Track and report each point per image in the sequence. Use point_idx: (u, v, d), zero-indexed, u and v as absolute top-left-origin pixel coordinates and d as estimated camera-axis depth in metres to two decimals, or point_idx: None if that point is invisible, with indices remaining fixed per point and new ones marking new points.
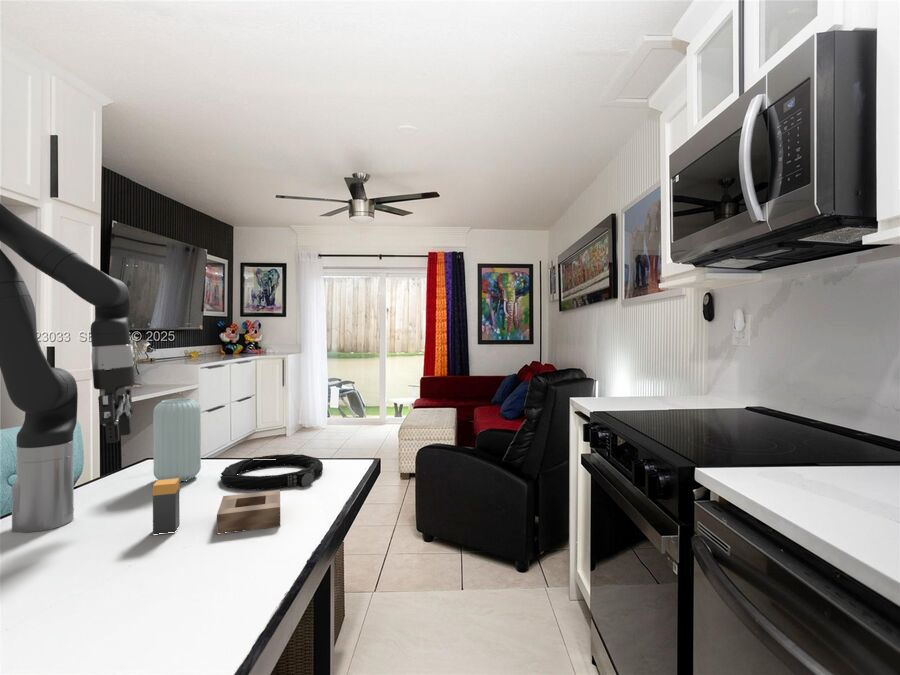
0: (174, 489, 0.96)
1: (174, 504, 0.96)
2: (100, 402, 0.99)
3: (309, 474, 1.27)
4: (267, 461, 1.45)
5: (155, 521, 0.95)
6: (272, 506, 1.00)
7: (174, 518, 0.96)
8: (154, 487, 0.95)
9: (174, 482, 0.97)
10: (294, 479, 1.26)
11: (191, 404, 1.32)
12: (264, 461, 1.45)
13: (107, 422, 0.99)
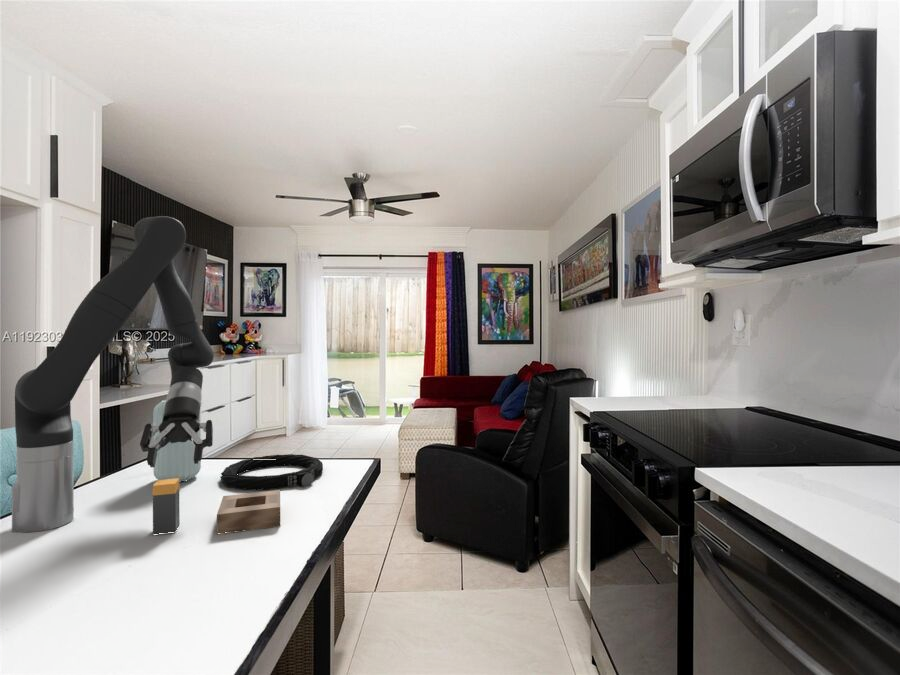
0: (174, 489, 0.96)
1: (174, 504, 0.96)
2: (211, 425, 1.13)
3: (309, 474, 1.27)
4: (267, 461, 1.45)
5: (155, 521, 0.95)
6: (272, 506, 1.00)
7: (174, 518, 0.96)
8: (154, 487, 0.95)
9: (174, 482, 0.97)
10: (294, 479, 1.26)
11: None
12: (264, 461, 1.45)
13: (211, 442, 1.10)
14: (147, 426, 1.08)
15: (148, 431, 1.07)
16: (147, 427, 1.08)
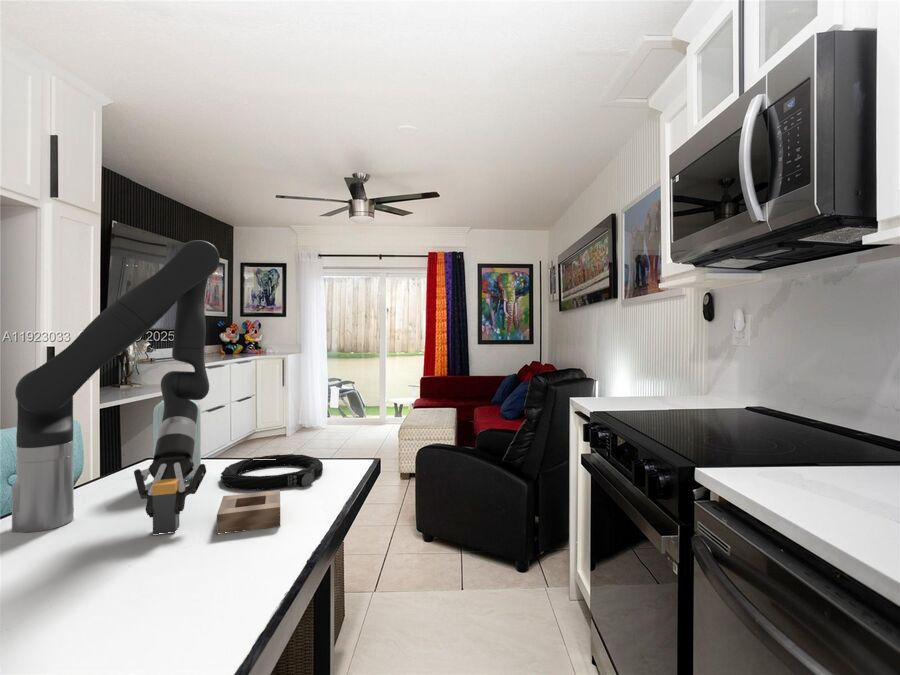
0: (174, 489, 0.96)
1: (174, 504, 0.96)
2: (203, 470, 1.03)
3: (309, 474, 1.27)
4: (267, 461, 1.45)
5: (155, 521, 0.95)
6: (272, 506, 1.00)
7: (174, 518, 0.96)
8: (154, 487, 0.95)
9: (174, 482, 0.97)
10: (294, 479, 1.26)
11: None
12: (264, 461, 1.45)
13: (194, 489, 1.01)
14: (136, 472, 0.99)
15: (140, 477, 0.99)
16: (137, 473, 0.99)
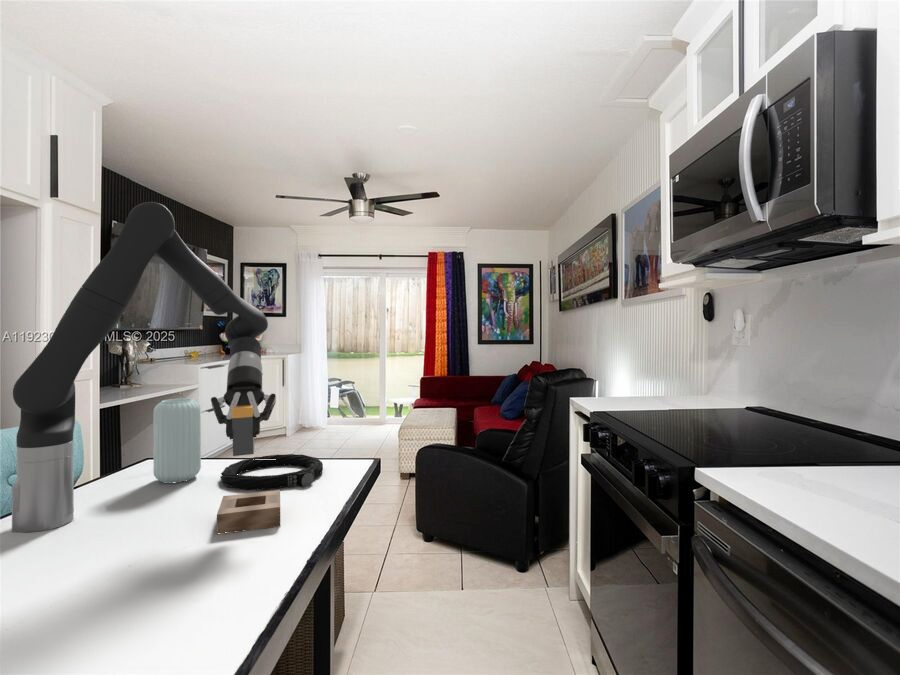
0: (251, 413, 1.02)
1: (251, 427, 1.02)
2: (274, 399, 1.08)
3: (309, 474, 1.27)
4: (267, 461, 1.45)
5: (235, 443, 1.00)
6: (272, 506, 1.00)
7: (252, 440, 1.02)
8: (233, 410, 1.00)
9: (250, 407, 1.02)
10: (294, 479, 1.26)
11: (191, 404, 1.32)
12: (264, 461, 1.45)
13: (267, 416, 1.06)
14: (213, 399, 1.04)
15: (217, 403, 1.04)
16: (214, 400, 1.04)
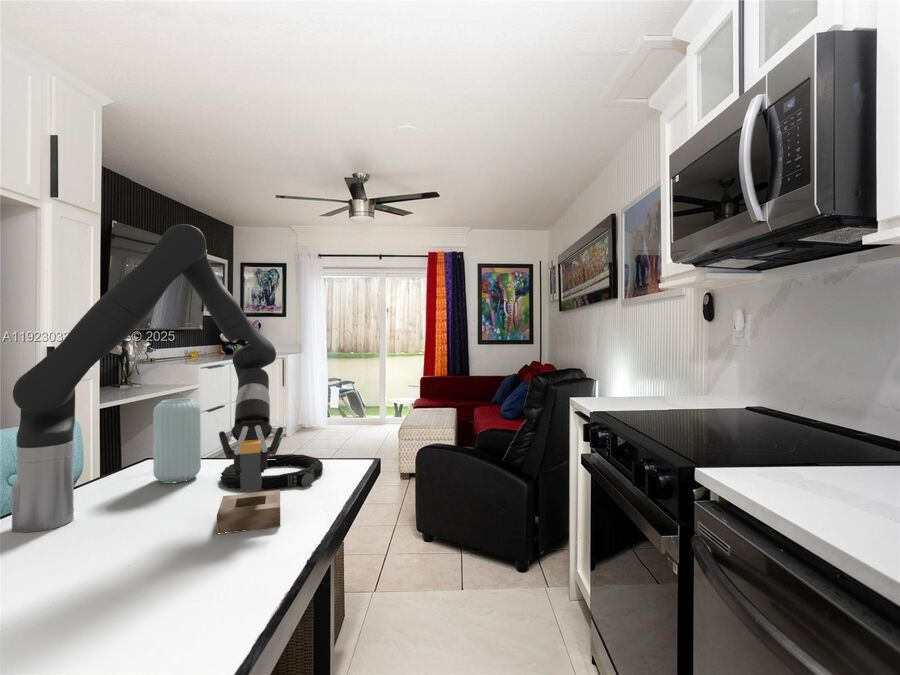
0: (259, 448, 1.02)
1: (259, 462, 1.02)
2: (281, 433, 1.08)
3: (309, 474, 1.27)
4: (267, 461, 1.45)
5: (243, 478, 1.01)
6: (272, 506, 1.00)
7: (259, 476, 1.02)
8: (241, 446, 1.01)
9: (258, 442, 1.02)
10: (294, 479, 1.26)
11: (191, 404, 1.32)
12: None
13: (275, 450, 1.06)
14: (221, 434, 1.04)
15: (225, 438, 1.04)
16: (222, 435, 1.04)
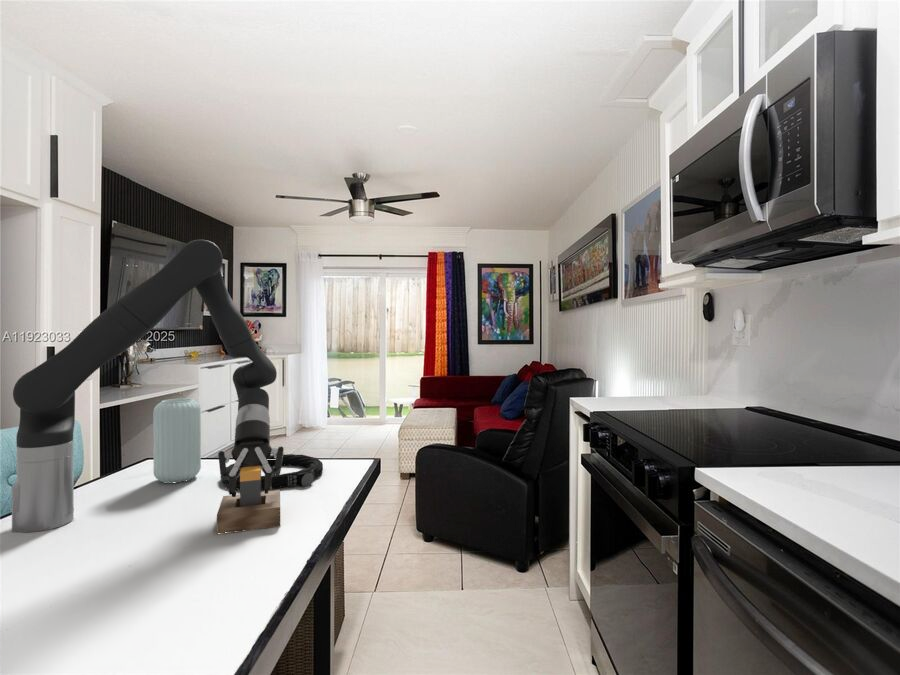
0: (259, 476, 1.02)
1: (259, 490, 1.02)
2: (282, 452, 1.09)
3: (309, 474, 1.27)
4: None
5: (242, 506, 1.01)
6: (272, 506, 1.00)
7: (259, 503, 1.02)
8: (241, 474, 1.01)
9: (258, 469, 1.03)
10: (294, 479, 1.26)
11: (191, 404, 1.32)
12: None
13: (279, 471, 1.07)
14: (220, 454, 1.05)
15: (223, 459, 1.04)
16: (221, 455, 1.05)
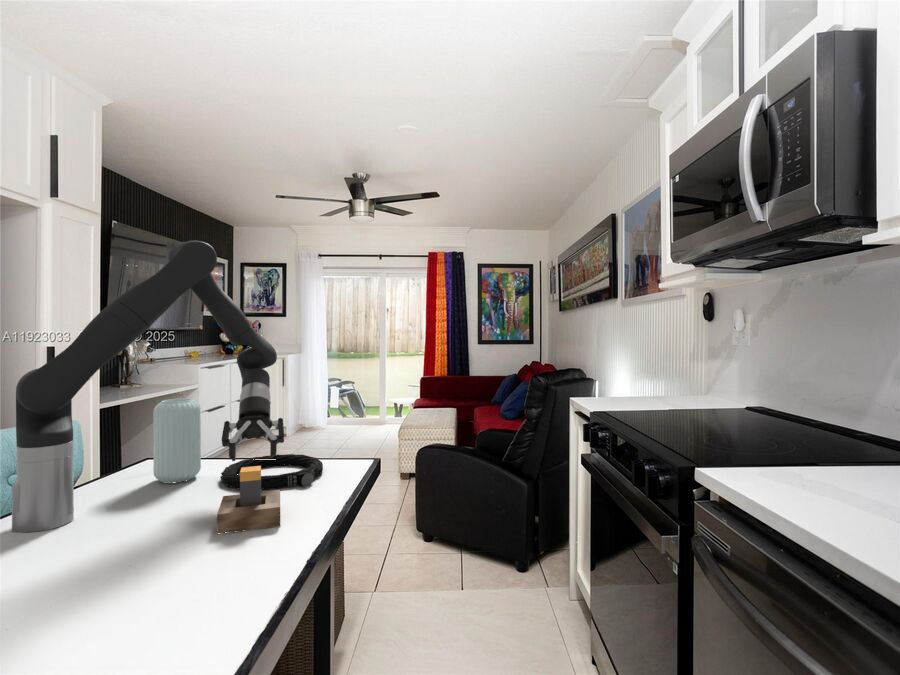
0: (259, 476, 1.02)
1: (259, 490, 1.02)
2: None
3: (309, 474, 1.27)
4: (267, 461, 1.45)
5: (242, 506, 1.01)
6: (272, 506, 1.00)
7: (259, 503, 1.02)
8: (241, 474, 1.01)
9: (258, 469, 1.03)
10: (294, 479, 1.26)
11: (191, 404, 1.32)
12: (264, 461, 1.45)
13: (283, 439, 1.19)
14: (226, 423, 1.17)
15: (227, 428, 1.17)
16: (226, 424, 1.17)
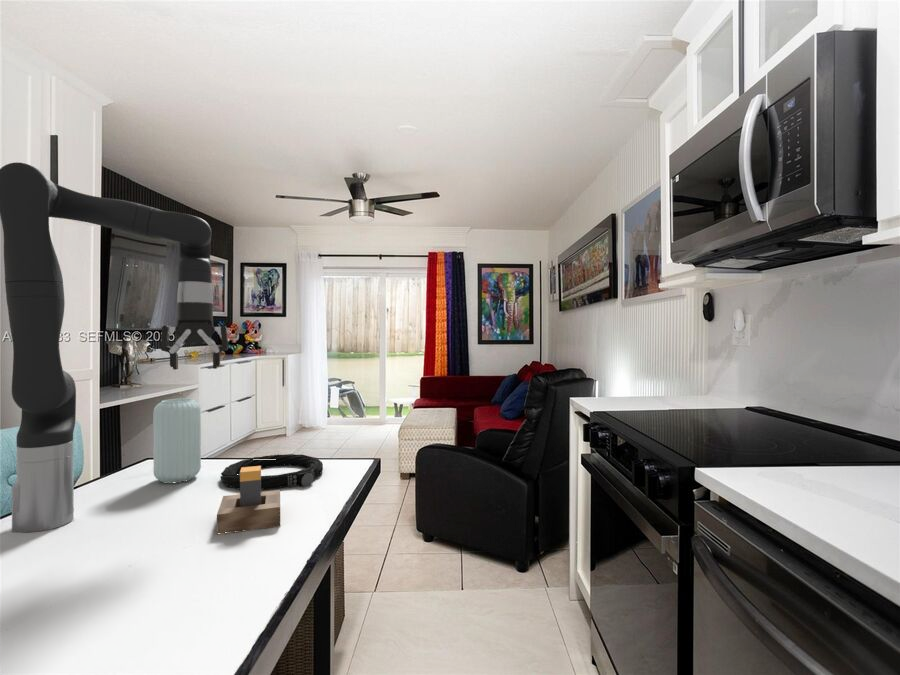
0: (259, 476, 1.02)
1: (259, 490, 1.02)
2: (226, 331, 1.16)
3: (309, 474, 1.27)
4: (267, 461, 1.45)
5: (242, 506, 1.01)
6: (272, 506, 1.00)
7: (259, 503, 1.02)
8: (241, 474, 1.01)
9: (258, 469, 1.03)
10: (294, 479, 1.26)
11: (191, 404, 1.32)
12: (264, 461, 1.45)
13: (227, 348, 1.17)
14: (164, 329, 1.11)
15: (166, 334, 1.12)
16: (164, 330, 1.11)
